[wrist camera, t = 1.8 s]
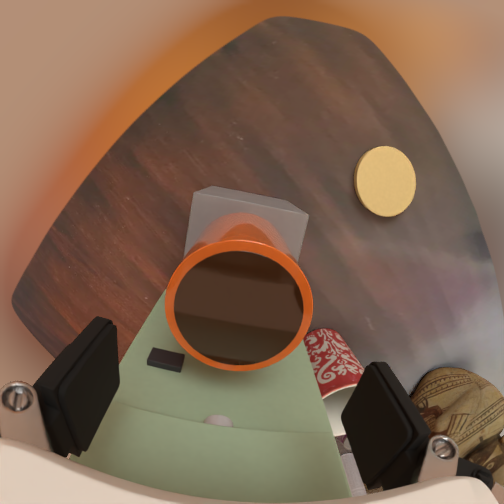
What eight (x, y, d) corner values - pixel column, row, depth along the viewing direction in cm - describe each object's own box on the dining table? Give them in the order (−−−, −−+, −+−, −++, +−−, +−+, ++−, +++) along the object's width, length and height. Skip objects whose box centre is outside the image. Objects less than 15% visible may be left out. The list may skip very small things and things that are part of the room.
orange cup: (201, 204, 21) (172, 226, 12) (297, 222, 22) (331, 256, 13) (188, 292, 23) (160, 358, 14) (275, 308, 23) (291, 379, 15)
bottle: (333, 458, 48) (352, 528, 29) (351, 450, 47) (374, 520, 28) (338, 464, 49) (356, 530, 30) (355, 457, 49) (377, 523, 29)
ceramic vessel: (376, 410, 44) (432, 533, 15) (459, 338, 40) (552, 435, 11) (408, 435, 48) (452, 527, 19) (475, 377, 44) (540, 456, 15)
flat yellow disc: (360, 137, 31) (364, 136, 30) (417, 159, 32) (421, 159, 31) (346, 206, 33) (349, 207, 32) (403, 222, 34) (407, 223, 33)
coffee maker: (307, 205, 33) (505, 328, 5) (278, 316, 37) (326, 534, 9) (191, 182, 32) (-21, 236, 4) (174, 297, 36) (81, 502, 8)
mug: (335, 310, 37) (372, 370, 24) (356, 352, 39) (390, 412, 26) (256, 352, 39) (261, 423, 26) (285, 389, 41) (296, 456, 28)
